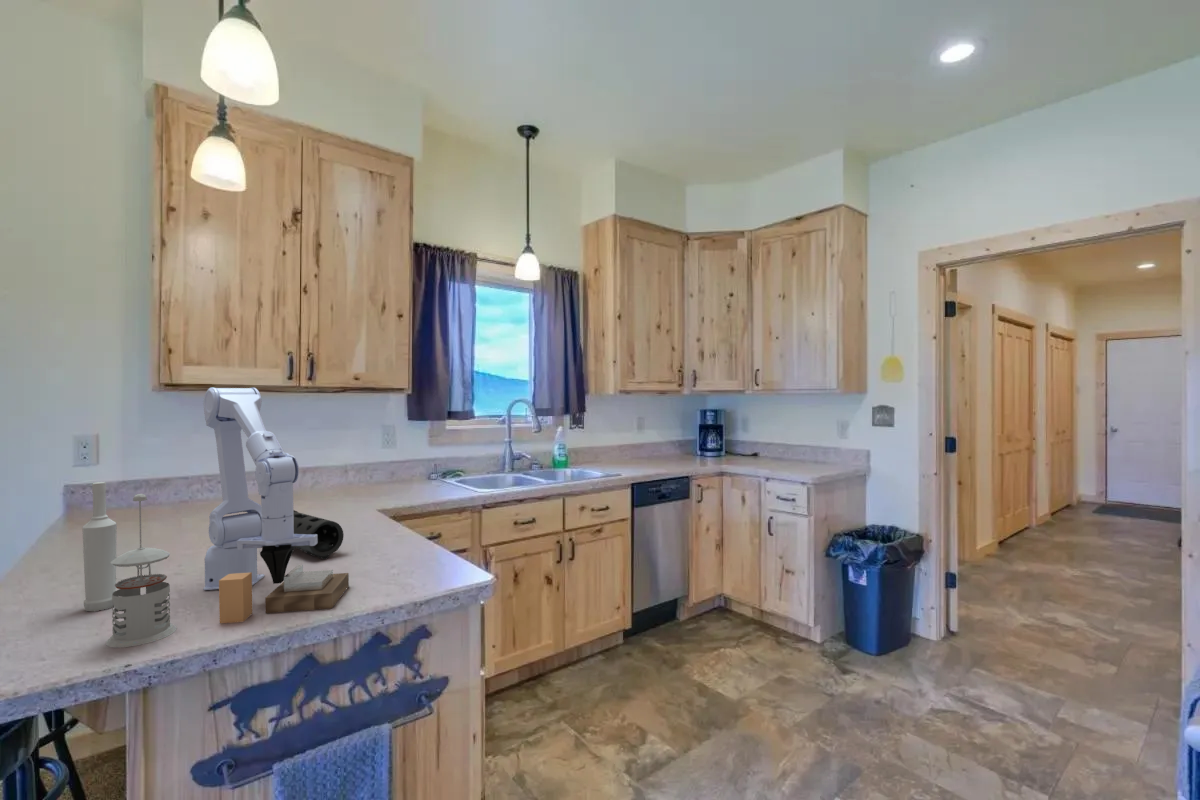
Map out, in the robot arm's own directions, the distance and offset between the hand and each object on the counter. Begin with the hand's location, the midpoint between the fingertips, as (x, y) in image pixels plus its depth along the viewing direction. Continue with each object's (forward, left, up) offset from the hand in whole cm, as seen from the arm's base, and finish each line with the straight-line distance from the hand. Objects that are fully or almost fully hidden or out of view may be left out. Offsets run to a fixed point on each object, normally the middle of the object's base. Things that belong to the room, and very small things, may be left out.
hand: (278, 582), depth 115 cm
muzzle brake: (-8, +40, -4) cm, 41 cm away
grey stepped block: (+6, 0, -1) cm, 6 cm away
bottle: (-34, +4, -4) cm, 35 cm away
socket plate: (+6, 0, -4) cm, 7 cm away
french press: (-18, -12, -4) cm, 22 cm away
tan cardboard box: (-5, -8, -4) cm, 10 cm away
